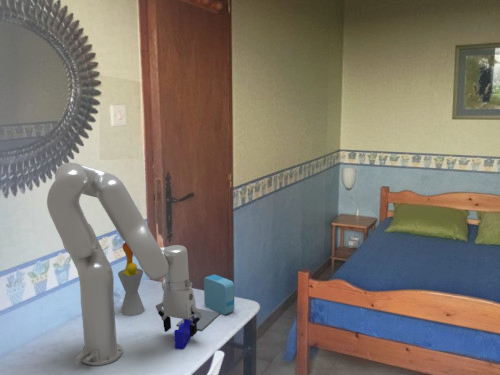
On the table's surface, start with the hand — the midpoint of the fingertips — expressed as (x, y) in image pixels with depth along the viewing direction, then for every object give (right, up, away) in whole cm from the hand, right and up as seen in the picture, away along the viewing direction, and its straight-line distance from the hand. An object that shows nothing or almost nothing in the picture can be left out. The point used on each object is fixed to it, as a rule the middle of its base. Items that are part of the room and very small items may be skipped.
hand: (180, 332), depth 166 cm
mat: (+5, +1, +13) cm, 14 cm away
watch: (-7, +3, +28) cm, 29 cm away
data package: (+11, +2, +22) cm, 25 cm away
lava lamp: (-21, +2, +21) cm, 30 cm away
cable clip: (+1, -3, 0) cm, 3 cm away
